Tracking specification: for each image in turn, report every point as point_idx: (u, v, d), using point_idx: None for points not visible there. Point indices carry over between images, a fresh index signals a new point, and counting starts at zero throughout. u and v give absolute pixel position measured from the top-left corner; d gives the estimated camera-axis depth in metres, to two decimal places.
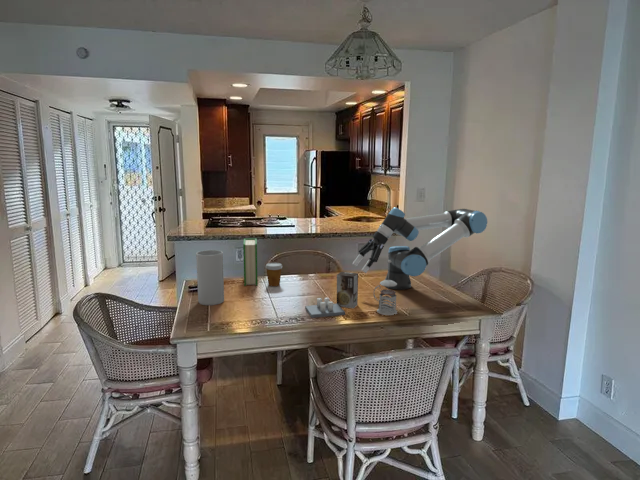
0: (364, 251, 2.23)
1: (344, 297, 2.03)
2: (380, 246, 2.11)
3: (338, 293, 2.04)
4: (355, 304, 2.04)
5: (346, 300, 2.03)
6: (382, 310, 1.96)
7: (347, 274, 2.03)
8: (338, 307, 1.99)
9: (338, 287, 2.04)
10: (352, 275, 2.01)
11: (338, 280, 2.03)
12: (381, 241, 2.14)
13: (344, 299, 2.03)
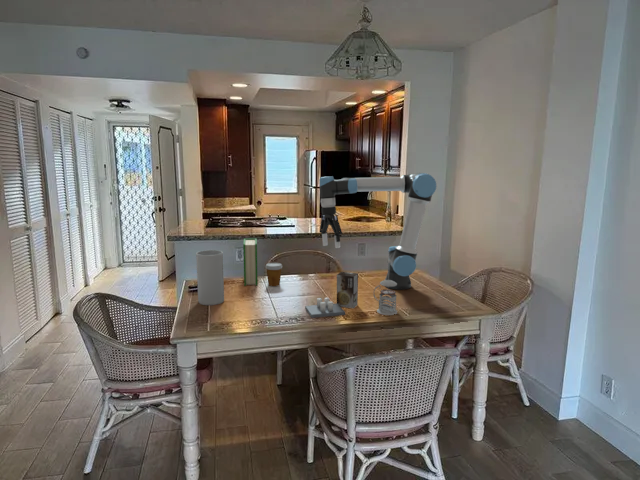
0: (324, 229, 2.25)
1: (344, 297, 2.03)
2: (335, 218, 2.14)
3: (338, 293, 2.04)
4: (355, 304, 2.04)
5: (346, 300, 2.03)
6: (382, 310, 1.96)
7: (347, 274, 2.03)
8: (338, 307, 1.99)
9: (338, 287, 2.04)
10: (352, 275, 2.01)
11: (338, 280, 2.03)
12: (332, 213, 2.16)
13: (344, 299, 2.03)
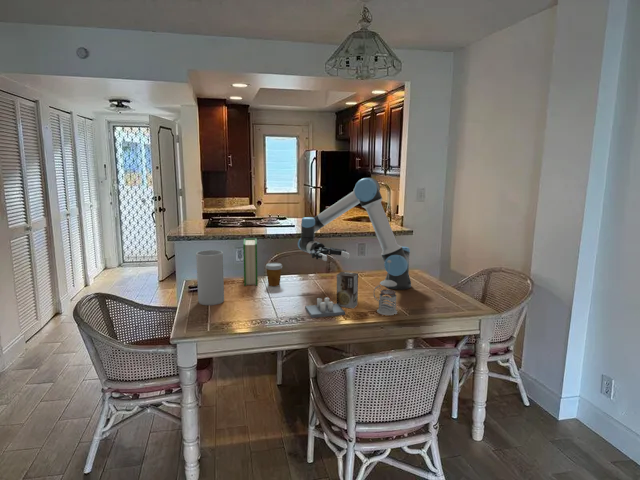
0: (337, 253, 2.21)
1: (344, 297, 2.03)
2: (310, 252, 2.20)
3: (338, 293, 2.04)
4: (355, 304, 2.04)
5: (346, 300, 2.03)
6: (382, 310, 1.96)
7: (347, 274, 2.03)
8: (338, 307, 1.99)
9: (338, 287, 2.04)
10: (352, 275, 2.01)
11: (338, 280, 2.03)
12: (313, 250, 2.24)
13: (344, 299, 2.03)
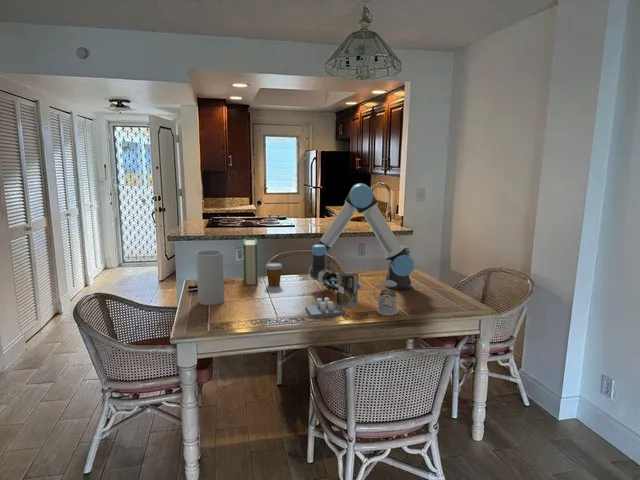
0: None
1: (344, 296, 2.03)
2: (323, 283, 2.11)
3: (338, 293, 2.04)
4: (355, 304, 2.04)
5: (346, 299, 2.03)
6: (382, 310, 1.96)
7: (347, 274, 2.03)
8: (338, 307, 1.99)
9: None
10: (352, 275, 2.01)
11: (338, 280, 2.03)
12: None
13: (344, 299, 2.03)
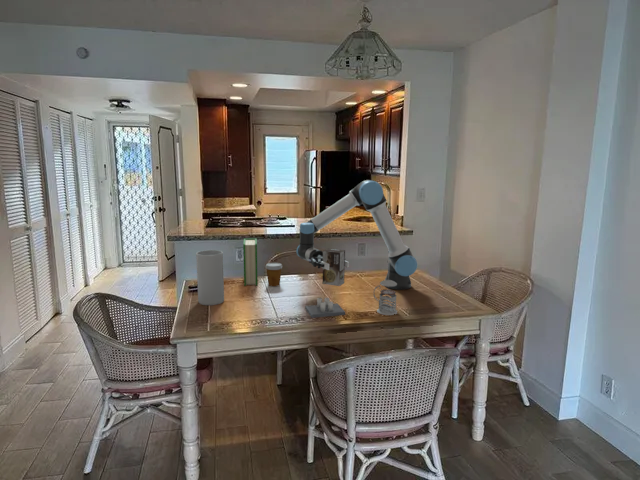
0: None
1: (330, 274, 1.97)
2: (309, 261, 2.05)
3: (324, 270, 1.98)
4: (341, 282, 1.98)
5: (332, 277, 1.96)
6: (382, 310, 1.96)
7: (333, 250, 1.96)
8: (338, 307, 1.99)
9: None
10: (338, 251, 1.95)
11: (324, 257, 1.97)
12: None
13: (330, 277, 1.97)
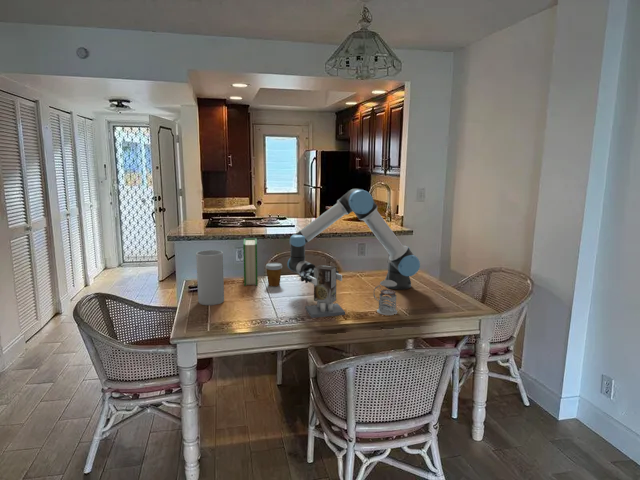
0: None
1: (321, 291, 1.93)
2: (300, 275, 2.01)
3: (315, 287, 1.94)
4: (333, 299, 1.94)
5: (323, 294, 1.93)
6: (382, 310, 1.96)
7: (325, 267, 1.93)
8: (338, 307, 1.99)
9: None
10: (330, 268, 1.91)
11: (315, 274, 1.93)
12: (303, 272, 2.05)
13: (321, 294, 1.93)
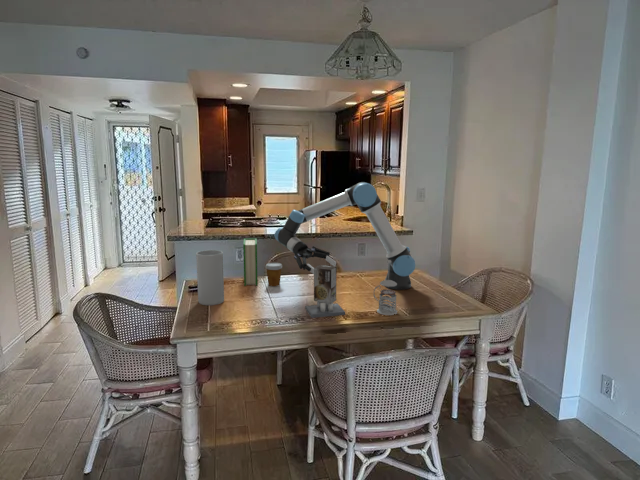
0: (321, 256, 2.16)
1: (321, 291, 1.93)
2: (295, 257, 2.11)
3: (315, 287, 1.94)
4: (333, 299, 1.94)
5: (323, 294, 1.93)
6: (382, 310, 1.96)
7: (325, 267, 1.93)
8: (338, 307, 1.99)
9: (315, 281, 1.94)
10: (330, 268, 1.91)
11: (315, 274, 1.93)
12: (296, 252, 2.14)
13: (321, 294, 1.93)
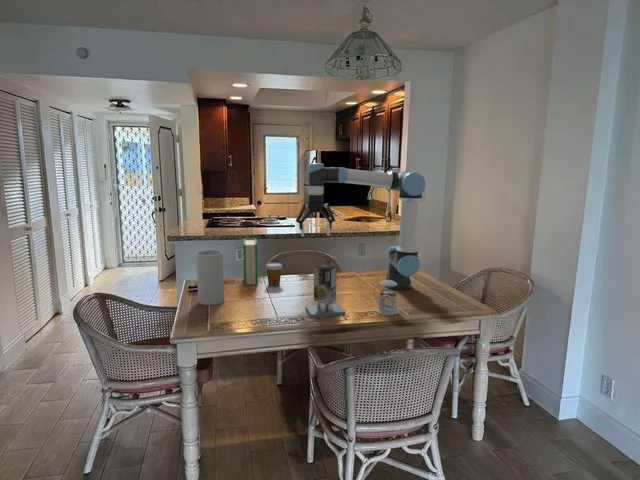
0: (325, 217, 2.17)
1: (321, 291, 1.93)
2: (302, 206, 2.13)
3: (315, 287, 1.94)
4: (333, 299, 1.94)
5: (323, 294, 1.93)
6: (382, 310, 1.96)
7: (325, 267, 1.93)
8: (338, 307, 1.99)
9: (315, 281, 1.94)
10: (330, 268, 1.91)
11: (315, 274, 1.93)
12: (308, 201, 2.13)
13: (321, 294, 1.93)
